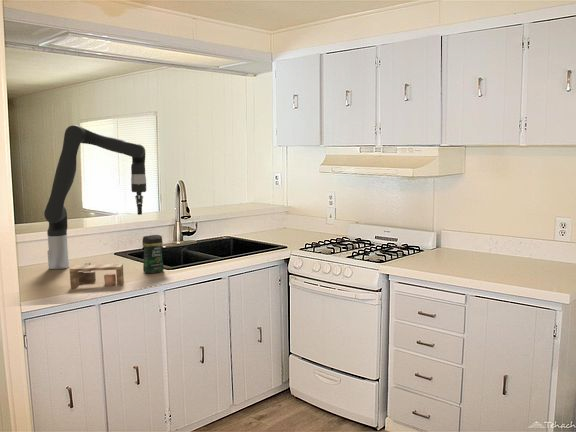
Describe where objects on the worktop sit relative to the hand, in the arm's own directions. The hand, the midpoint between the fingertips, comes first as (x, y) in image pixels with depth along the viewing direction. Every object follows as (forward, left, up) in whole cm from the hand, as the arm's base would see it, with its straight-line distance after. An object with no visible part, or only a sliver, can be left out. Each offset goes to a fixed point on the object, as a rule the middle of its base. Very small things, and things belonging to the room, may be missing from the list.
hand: (139, 213), depth 288 cm
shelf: (-15, -40, -27) cm, 51 cm away
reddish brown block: (-10, -40, -27) cm, 50 cm away
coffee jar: (+8, -19, -28) cm, 34 cm away
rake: (-22, -24, -27) cm, 42 cm away
